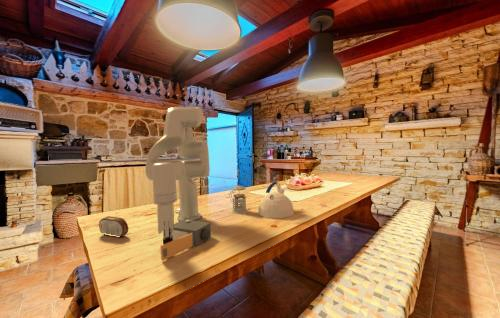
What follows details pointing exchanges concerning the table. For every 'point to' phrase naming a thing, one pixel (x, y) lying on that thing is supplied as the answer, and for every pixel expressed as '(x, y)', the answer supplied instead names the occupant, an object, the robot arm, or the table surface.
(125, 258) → the table surface
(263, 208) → the kettle
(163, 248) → the side door
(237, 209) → the french press
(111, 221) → the tin
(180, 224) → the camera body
